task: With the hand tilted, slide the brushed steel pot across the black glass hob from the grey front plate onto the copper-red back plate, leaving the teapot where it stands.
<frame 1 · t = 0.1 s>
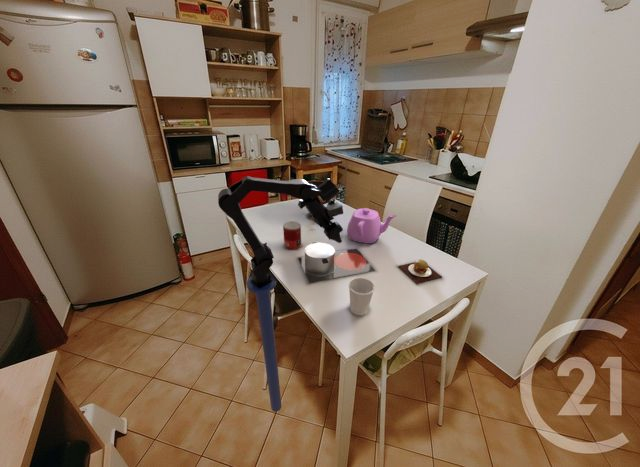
hand: (336, 236, 106), 13 cm above the table, tool tilted 30°, fingers open, 9 cm apart
orange pedestal bowl: (315, 216, 155), on the table
canned food: (292, 246, 124), on the table
teapot: (364, 237, 133), on the table
dixie cup: (359, 309, 88), on the table
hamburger: (419, 272, 107), on the table
pot: (319, 266, 109), resting on hob
hob: (335, 264, 111), on the table
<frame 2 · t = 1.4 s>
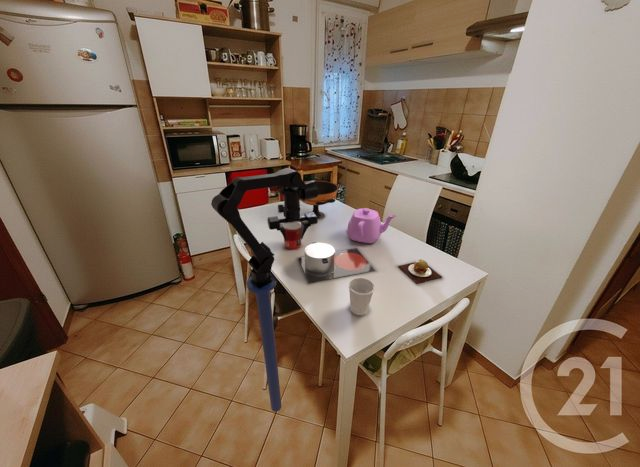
hand: (293, 239, 105), 12 cm above the table, tool pointing down, fingers open, 6 cm apart
nothing on the table moved.
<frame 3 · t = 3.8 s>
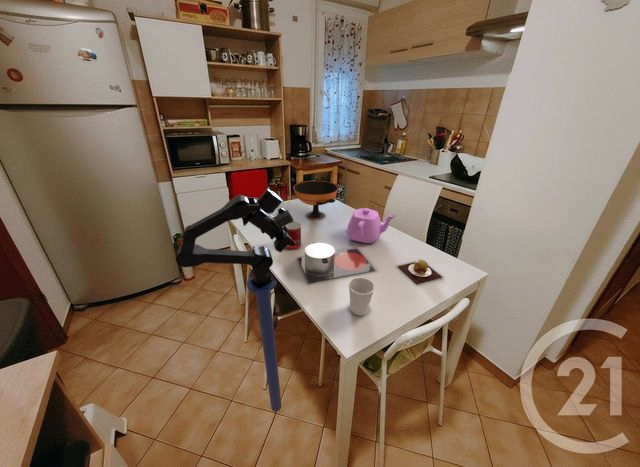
hand: (295, 244, 100), 12 cm above the table, tool tilted 45°, fingers closed
nothing on the table moved.
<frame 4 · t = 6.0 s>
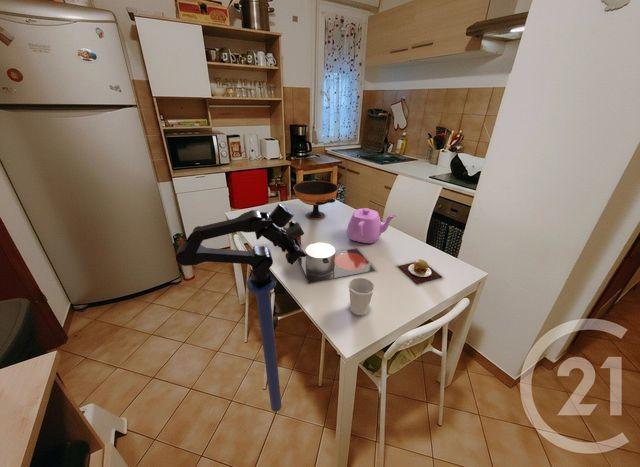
hand: (305, 255, 104), 7 cm above the table, tool tilted 45°, fingers closed, pressing on pot
pot: (320, 266, 109), resting on hob, touching gripper
everything else where it was.
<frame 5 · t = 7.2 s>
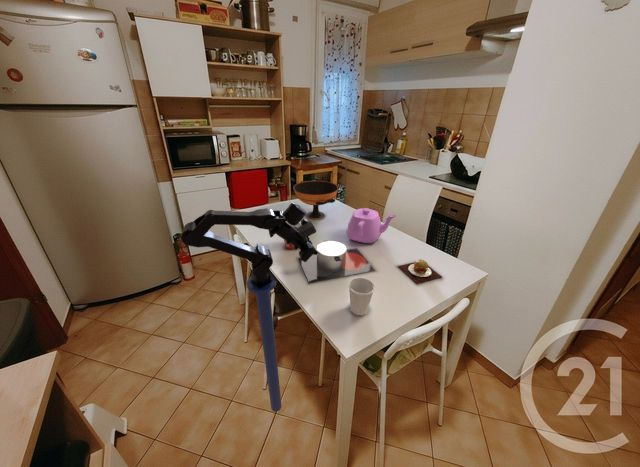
hand: (316, 253, 105), 7 cm above the table, tool tilted 45°, fingers closed, pressing on pot
pot: (331, 264, 110), resting on hob, touching gripper
everything else where it was.
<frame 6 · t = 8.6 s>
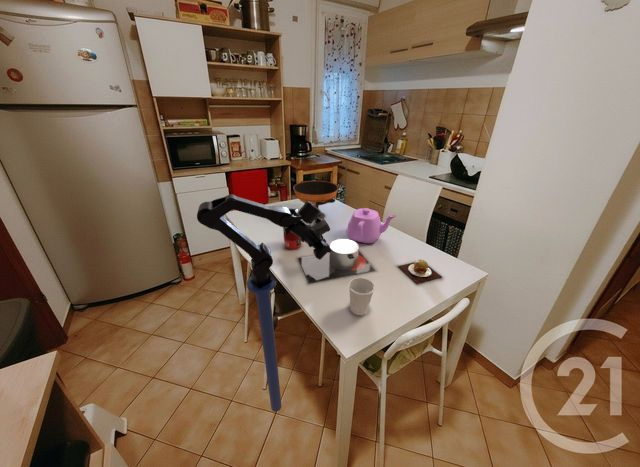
hand: (329, 251, 107), 7 cm above the table, tool tilted 45°, fingers closed, pressing on pot
pot: (343, 262, 112), resting on hob, touching gripper
everything else where it was.
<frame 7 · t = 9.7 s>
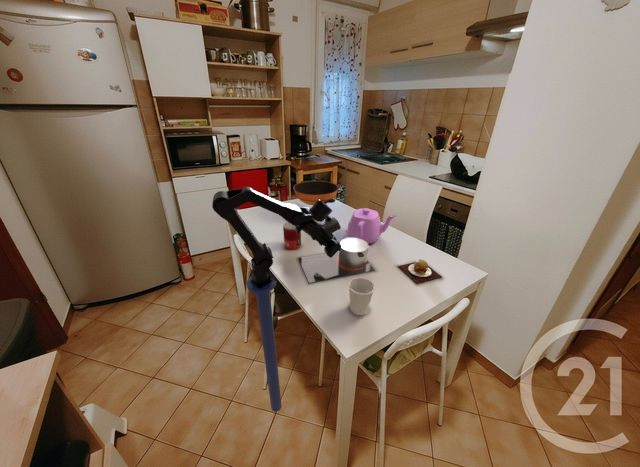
hand: (339, 249, 108), 7 cm above the table, tool tilted 45°, fingers closed, pressing on pot
pot: (352, 260, 113), resting on hob, touching gripper
everything else where it was.
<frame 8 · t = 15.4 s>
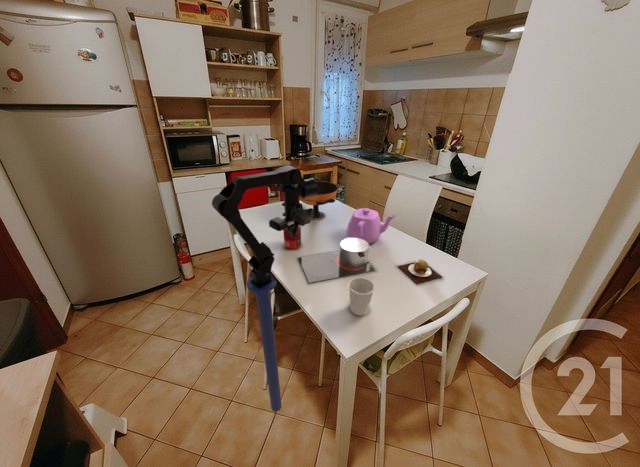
hand: (293, 237, 104), 13 cm above the table, tool pointing down, fingers closed
pot: (353, 260, 113), resting on hob
everything else where it was.
at the end: pot inside the target area on the hob (1.1 cm from its centre), point 0.3 cm above the hob's base; pot tilted 0°; teapot moved 0.2 cm from its start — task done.
